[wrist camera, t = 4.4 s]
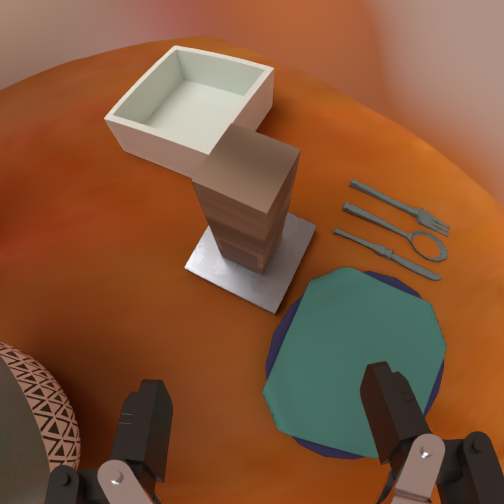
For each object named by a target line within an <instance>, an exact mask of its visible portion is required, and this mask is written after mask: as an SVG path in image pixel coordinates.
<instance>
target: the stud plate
mask: <svg viewBox="0 0 504 504" xmlns="http://www.w3.org/2000/svg"><path fill="white" fill-rule="evenodd" d="M316 227H317V225H315V224H312V223H310V222H308V221H306V220H304V219H302V218H300V217H297V216H295V215H293V214H291V213H289V212H287V216H286V221H285V225H284V229H283V234H282V237H281V239H280V241H279V243H278V245H277V247H276V249H275V251H274V253H273V255H272V257H271V259H270V261H269V263H268V265H267V267H266V269H265V271H264V273H263V275H262V276H261V275H259V274H257V273H255V272H253V271H251V270H249V269H247V268H245V267H243V266H241V265H239V264H237V263H235V262H233V261H231V260H228V259H226V258H224V257H222V256H221V254H220V251H219V249H218V247H217V244H216V242H215V239H214V237H213V234H212V232H211V229H210V227H209V226H208V227H207V229H206V231H205V232H204V234H203V236H202V238H201V239H200V241H199V243H198V245H197V246H196V248H195V250H194V252H193V253H192V255H191V257H190V259H189V261H188V262H187V264H186V266H185V269H186V270H187V271H188V272H190V273H192V274H194V275H196V276H198V277H200V278H202V279H204V280H205V281H207V282H209V283H211V284H213V285H215V286H217V287H219V288H221V289H223V290H225V291H227V292H229V293H231V294H233V295H235V296H237V297H239V298H241V299H243V300H245V301H247V302H249V303H251V304H253V305H255V306H257V307H259V308H261V309H263V310H265V311H267V312H269V313H271V314H273V315H275V313H276V311H277V309H278V307H279V305H280V303H281V301H282V299H283V297H284V295H285V293H286V291H287V289H288V286H289V284H290V282H291V280H292V278H293V276H294V274H295V272H296V270H297V268H298V265H299V263H300V261H301V259H302V257H303V255H304V253H305V251H306V248H307V246H308V244H309V242H310V240H311V238H312V235H313V233H314V231H315V229H316Z"/></svg>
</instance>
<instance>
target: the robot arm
mask: <svg viewBox="0 0 504 504" xmlns="http://www.w3.org/2000/svg"><path fill="white" fill-rule="evenodd" d="M360 397H361V401H362V404H363V407H364V410H365V413H366V417H367V420H368V423H369V426H370V429H371V432H372V436H373V439H374V442H375V446H376V449H377V452H378V456H379V459H380V463H381V465H383V464H386V463H390V466H391V470H390V472H389V474H388V476H387V478H386V481H385V483H384V485H383V487H382V489H381V491H380V493H379V495H378V497H377V499H376V501H375V503H374V504H432V502H431V500H430V495H431V492H432V490H433V487H434V484H437V488H438V492H439V496H440V500H441V504H504V475H503V473H502V470H501V467H500V464H499V461H498V458H497V456H496V453H495V450H494V448H493V445H492V443H491V440H490V438H489V437H488V436H487V435H486V434H485V433H483V432H479V431H476V432H472V433H470V434H469V435H468V436H467V437H466V438H465V439H455V440H443V439H441V438H439V437H438V436H436V435H434V434H433V433H432V432H431V431H430V429H429V427H428V425H427V422H426V420H425V418H424V415H423V413H422V411H421V408H420V406H419V404H418V402H417V400H416V397H415V395H414V393H413V392H412V388H411V386H410V384H409V382H408V380H407V379H406V378H405V377H404V376H403V375H402V374H401V373H400V372H399V371H397V372H393V373H392V371H391V369H390V366H389V364H388V363H387V362H386V361H382V362H377V363H372V364H368V365H367V367H366V370H365V373H364V376H363V379H362V382H361V385H360ZM121 413H122V414H121V416H120V419H119V424H118V427H117V431H116V435H115V440H114V444H113V448H112V452H111V456H110V458H109V460H108V461H107V462H105V463H104V464H102V466H101V467H99V468H95V469H87V470H77V471H76V470H75V469H73V468H72V467H70V466H68V465H59V466H57V467H55V468H54V469H53V470H52V472H51V474H50V477H49V482H48V487H47V492H46V497H45V503H44V504H164V503H163V501H162V500H161V499H160V497H159V496H158V494H157V493H156V491H155V483H156V482H164V479H165V470H166V461H167V453H168V445H169V437H170V430H171V423H172V416H173V405H172V401H171V398H170V396H169V394H168V392H167V390H166V387H165V385H164V383H163V381H162V380H149V379H144V380H142V382H141V385H140V389H139V392H131V393H130V395H129V396H128V397H127V398H126V400H125V401H124V404H123V408H122V412H121Z"/></svg>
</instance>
